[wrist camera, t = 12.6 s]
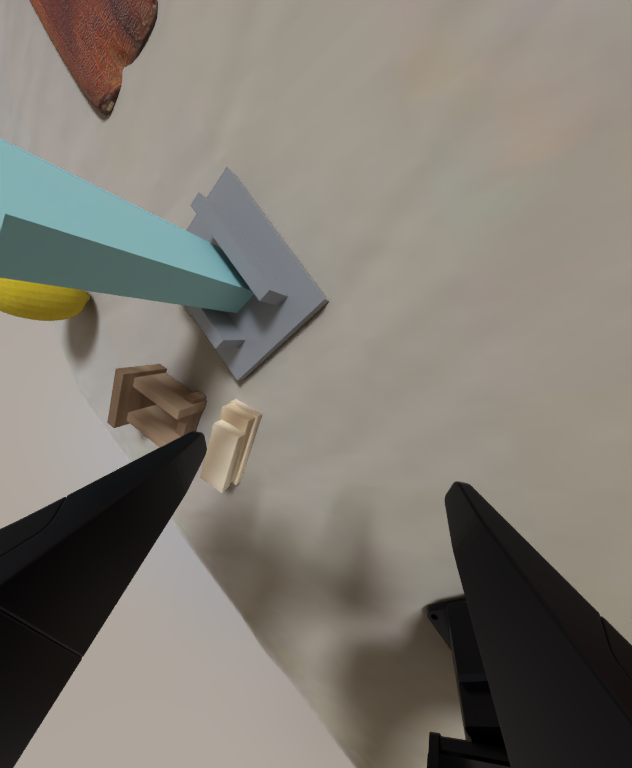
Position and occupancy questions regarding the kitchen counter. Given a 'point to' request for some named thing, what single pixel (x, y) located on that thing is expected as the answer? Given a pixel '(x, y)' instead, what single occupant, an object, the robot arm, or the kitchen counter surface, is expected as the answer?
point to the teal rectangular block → (103, 241)
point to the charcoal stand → (252, 278)
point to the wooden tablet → (98, 40)
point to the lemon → (40, 300)
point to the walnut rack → (154, 403)
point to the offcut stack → (230, 445)
